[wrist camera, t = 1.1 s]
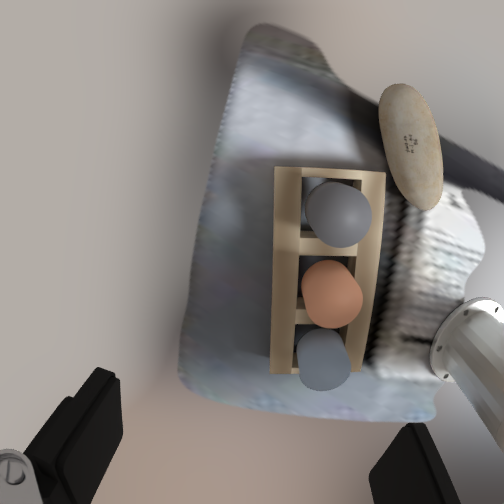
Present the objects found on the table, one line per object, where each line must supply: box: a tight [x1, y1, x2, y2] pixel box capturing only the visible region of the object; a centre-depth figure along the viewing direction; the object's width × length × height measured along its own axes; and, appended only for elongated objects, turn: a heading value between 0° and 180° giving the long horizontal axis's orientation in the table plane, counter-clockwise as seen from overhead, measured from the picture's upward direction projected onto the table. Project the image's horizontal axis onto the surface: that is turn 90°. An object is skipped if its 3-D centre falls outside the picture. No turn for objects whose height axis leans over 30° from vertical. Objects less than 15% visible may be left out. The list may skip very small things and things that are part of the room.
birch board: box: [270, 166, 386, 374], centre depth 31 cm, size 10×21×3 cm, turn 0°
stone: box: [379, 84, 443, 211], centre depth 26 cm, size 6×6×12 cm
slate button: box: [297, 328, 351, 391], centre depth 29 cm, size 5×5×4 cm
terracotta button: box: [301, 260, 363, 329], centre depth 27 cm, size 5×5×4 cm
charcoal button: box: [305, 182, 372, 248], centre depth 25 cm, size 5×5×4 cm
